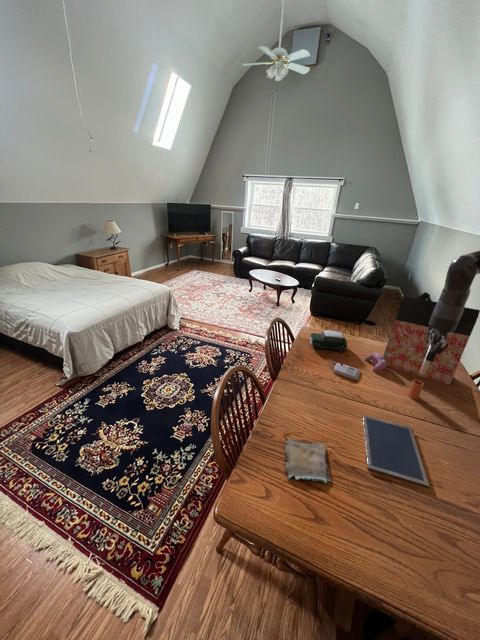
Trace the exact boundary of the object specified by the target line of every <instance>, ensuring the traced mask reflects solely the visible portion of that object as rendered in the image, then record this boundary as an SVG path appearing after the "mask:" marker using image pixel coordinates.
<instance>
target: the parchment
mask: <svg viewBox="0 0 480 640" xmlns="http://www.w3.org/2000/svg"><path fill="white" fill-rule="evenodd" d="M284 442H285V452H284V455H285V457H284V459H286V460H285V462H284V463H285V472H284V474H285V475H286V477H287V478H288V479H291V478H294V480H297V481H299V480H303V481H307V480H309V481H312V482H317V481H318V482H323V483H324V484H325V485H328V483H329V484H332V476H331V473H330V469H329V468H330V467H329V463H328V461H327V460H328V457H327V456H326V455H327V451H326V444H325V443H323V442H316V441H306V440H297V439H289V438H286V439H284Z"/></svg>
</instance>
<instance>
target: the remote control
mask: <svg viewBox="0 0 480 640" xmlns="http://www.w3.org/2000/svg"><path fill="white" fill-rule="evenodd" d="M327 363H328V364H331V365H333V366H330V367H329V368H330V369H332V370H333V373H334V374H337V375H339V376H343V377H346V378H349V379H351V380H354V381H358V380H359V378H360V375H361V372H362V371H361V370H359V368H356V367H353V366H350V365H346V364H344V362H343V361H341V362H336V363H335V362H329V361H327Z"/></svg>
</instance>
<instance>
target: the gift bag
mask: <svg viewBox="0 0 480 640" xmlns="http://www.w3.org/2000/svg"><path fill="white" fill-rule="evenodd" d="M437 302H438V301H433V300H432V298H431V295H430V293H428V292H427V291H425V292H422V294H420V295H419V296H417V297H412V296H406V295H403V296H402V299H401V301H399V300H396V299H392V301H391V304H400V305H399V308H398V311H397V314H396V317H395V321H394V322H393V325H392V329H391V332H390V335H389V338H388V341H387V344H386V347H385V350H384V353H383V355H382V356H383V357H384V358H385V360H386V362H387V366H386V367H389V368H392V369H396V370H398V371H403V372H405V373H408V374H412V375H416V376H419V377H422V378H426V379H429V380H433V381H435V382H439V383H443V384H446V385H451V384H452V381H453V379H454V376H455V374H456V372H457V368H458V366H459V364H460V361H461V359H462V356H463V354H464V352H465V349H466V347H467V344H468V343H469V339H470V337H471V335H472V333H473V331H474V328H475V326H476V323H477V320H478V318H479V315H480V309H476V308H471V307H466V306H465V307H464V311H463V314H462V316H461V318H460V320H459V323H458V325H457V327H456V329H455V331H453V332H449V333H448V334H447V339H446V340H445V343H448V347H447V348H446V349H445V350H444V351H443V352H442V353H441V354H436V356H435V358H434V361H433V362H431V361H430V363H429V366H428V368H427V371H426V374H424V375H422V374H420V370H421V367H422V365H423V362H424V359H425V356H424V354H425V352H426V349H427V348H428V347H427V343H426V338H427V332H428V328H429V327H430V328H432V327H431V326H430V325H429V321H430V318H431V316H432V313H433V311H434V308H435V306H436V304H437Z"/></svg>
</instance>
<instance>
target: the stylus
mask: <svg viewBox="0 0 480 640" xmlns="http://www.w3.org/2000/svg"><path fill="white" fill-rule="evenodd" d="M430 347H431V345H430V346H429V349H430ZM433 348H434V347H433ZM429 349H428V351H427V354H428V352H429ZM427 354H426V357H427ZM426 357H425V359H424V362H423V365H422V367H421V370H420V374H422V375H424V374H426V371H427V368H428V366H429V363H430V361H427V360H426Z"/></svg>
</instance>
